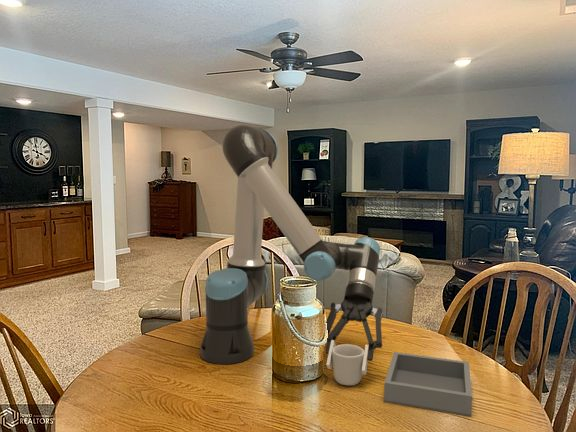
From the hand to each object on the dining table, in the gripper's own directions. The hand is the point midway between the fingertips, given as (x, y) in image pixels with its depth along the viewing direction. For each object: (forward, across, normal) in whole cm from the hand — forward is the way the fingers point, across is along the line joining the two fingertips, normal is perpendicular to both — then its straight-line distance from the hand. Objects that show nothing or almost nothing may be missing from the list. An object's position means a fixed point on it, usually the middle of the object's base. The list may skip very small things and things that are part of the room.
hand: (346, 369), depth 111 cm
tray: (0, -19, -6) cm, 20 cm away
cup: (0, 0, -5) cm, 5 cm away
